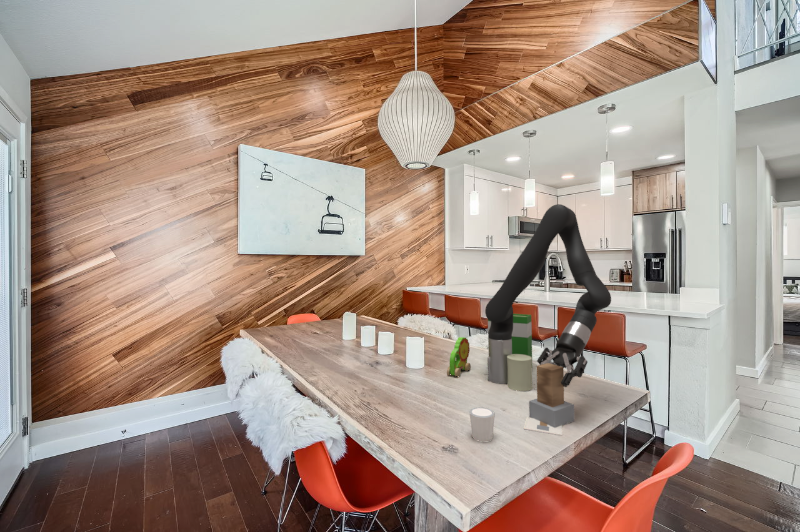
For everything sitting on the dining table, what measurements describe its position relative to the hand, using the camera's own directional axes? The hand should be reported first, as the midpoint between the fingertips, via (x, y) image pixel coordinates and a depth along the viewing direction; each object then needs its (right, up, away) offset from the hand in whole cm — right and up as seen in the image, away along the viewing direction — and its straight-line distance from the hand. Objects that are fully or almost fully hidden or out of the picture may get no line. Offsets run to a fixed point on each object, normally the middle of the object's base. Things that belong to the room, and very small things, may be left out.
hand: (550, 381), depth 108 cm
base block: (0, -12, 0) cm, 12 cm away
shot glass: (-23, -12, -10) cm, 28 cm away
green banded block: (+4, -11, +53) cm, 55 cm away
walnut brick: (0, -7, 0) cm, 7 cm away
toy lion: (-20, -12, +47) cm, 52 cm away
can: (0, -12, +28) cm, 30 cm away
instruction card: (-4, -12, -5) cm, 13 cm away
